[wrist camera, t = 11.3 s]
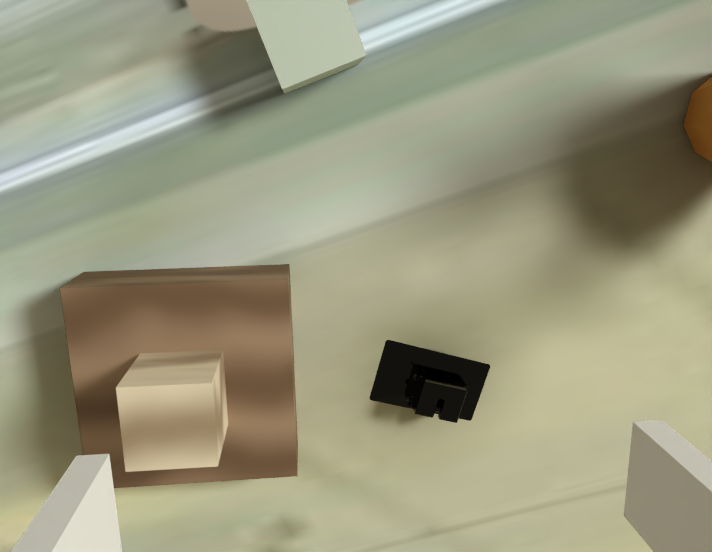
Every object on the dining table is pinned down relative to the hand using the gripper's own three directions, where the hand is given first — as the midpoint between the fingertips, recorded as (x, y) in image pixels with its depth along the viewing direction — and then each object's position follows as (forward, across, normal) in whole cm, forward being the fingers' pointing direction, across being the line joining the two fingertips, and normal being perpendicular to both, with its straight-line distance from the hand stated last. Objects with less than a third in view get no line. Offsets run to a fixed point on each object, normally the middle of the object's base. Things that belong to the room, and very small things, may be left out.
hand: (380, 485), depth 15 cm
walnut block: (+35, -11, -10) cm, 38 cm away
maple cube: (+30, -11, -10) cm, 33 cm away
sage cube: (+35, -1, +15) cm, 38 cm away
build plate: (+36, +9, -13) cm, 39 cm away
